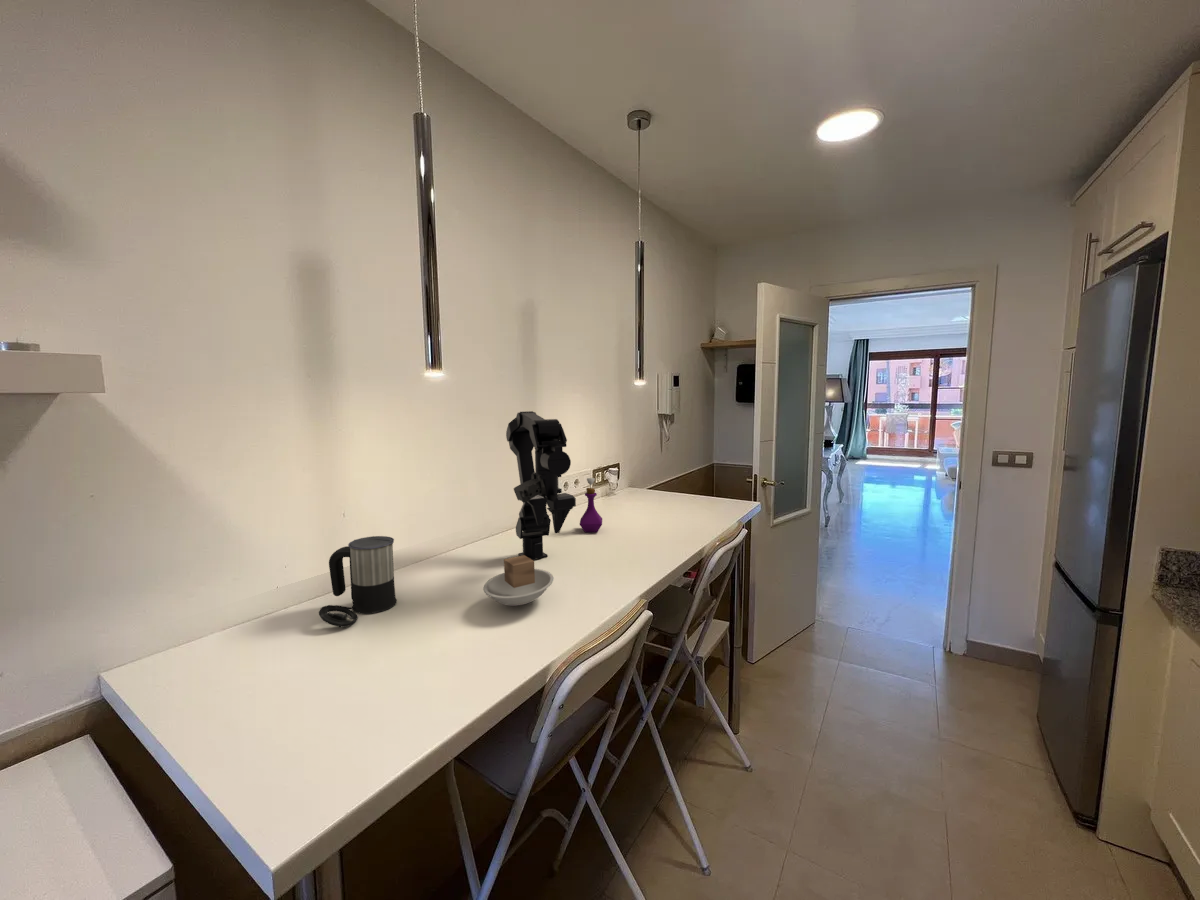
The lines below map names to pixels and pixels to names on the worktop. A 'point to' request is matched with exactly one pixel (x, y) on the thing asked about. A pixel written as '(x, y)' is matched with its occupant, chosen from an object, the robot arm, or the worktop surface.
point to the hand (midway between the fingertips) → (547, 529)
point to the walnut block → (519, 571)
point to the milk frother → (362, 579)
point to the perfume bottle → (591, 512)
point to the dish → (517, 589)
